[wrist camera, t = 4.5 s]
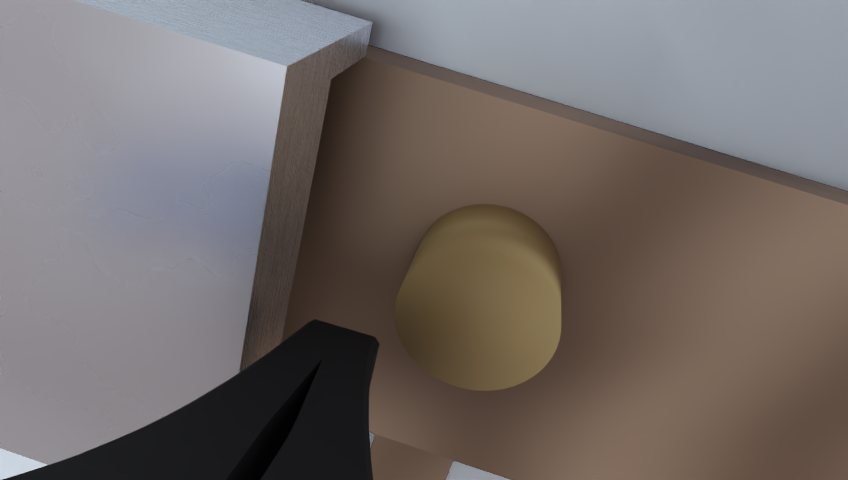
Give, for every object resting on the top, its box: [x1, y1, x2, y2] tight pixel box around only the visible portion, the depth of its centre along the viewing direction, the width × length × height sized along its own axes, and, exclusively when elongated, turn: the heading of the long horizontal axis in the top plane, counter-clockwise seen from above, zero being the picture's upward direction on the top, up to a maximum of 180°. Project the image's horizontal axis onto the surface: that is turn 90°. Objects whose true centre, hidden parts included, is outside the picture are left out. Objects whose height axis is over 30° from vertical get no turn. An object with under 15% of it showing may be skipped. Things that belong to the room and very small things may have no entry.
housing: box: [0, 0, 373, 465], centre depth 12 cm, size 7×8×4 cm
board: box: [281, 45, 848, 480], centre depth 15 cm, size 23×15×3 cm, turn 75°
